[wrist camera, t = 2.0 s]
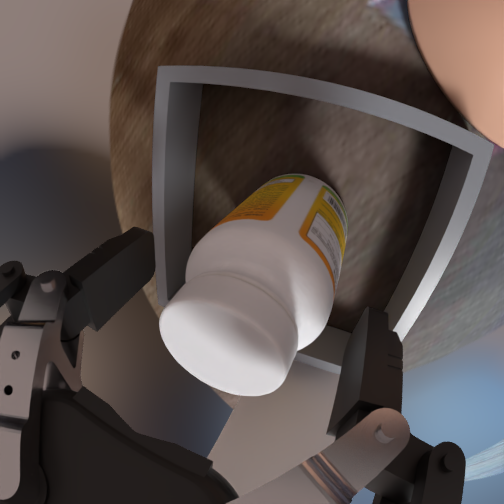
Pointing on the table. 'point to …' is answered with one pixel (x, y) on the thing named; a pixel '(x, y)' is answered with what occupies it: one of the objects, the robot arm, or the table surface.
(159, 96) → the bin
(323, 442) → the alcohol
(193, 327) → the supplement bottle
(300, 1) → the table surface
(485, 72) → the plate
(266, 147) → the table surface
